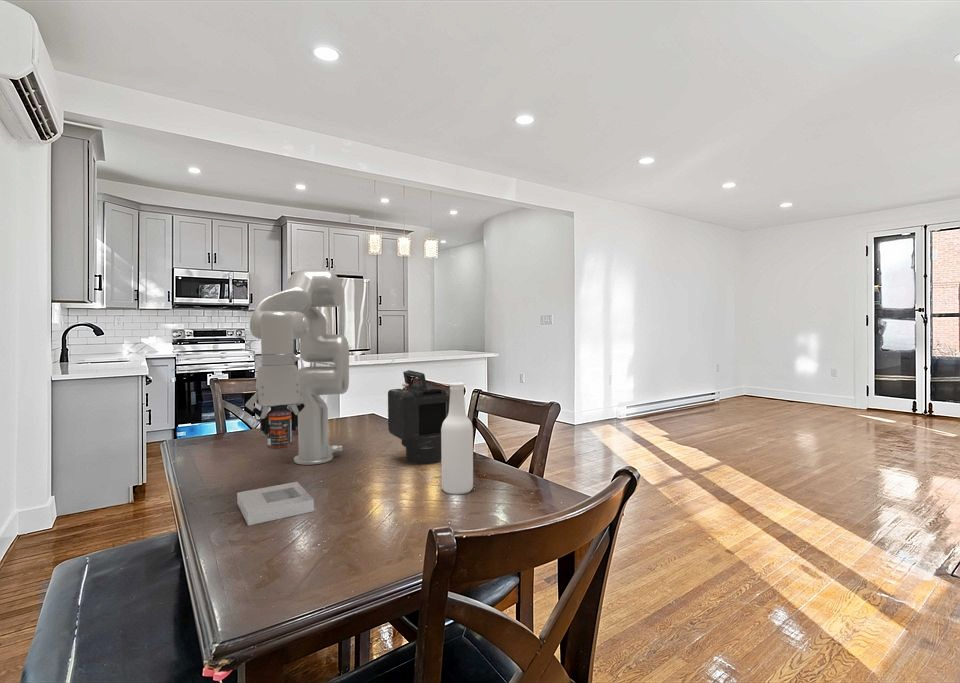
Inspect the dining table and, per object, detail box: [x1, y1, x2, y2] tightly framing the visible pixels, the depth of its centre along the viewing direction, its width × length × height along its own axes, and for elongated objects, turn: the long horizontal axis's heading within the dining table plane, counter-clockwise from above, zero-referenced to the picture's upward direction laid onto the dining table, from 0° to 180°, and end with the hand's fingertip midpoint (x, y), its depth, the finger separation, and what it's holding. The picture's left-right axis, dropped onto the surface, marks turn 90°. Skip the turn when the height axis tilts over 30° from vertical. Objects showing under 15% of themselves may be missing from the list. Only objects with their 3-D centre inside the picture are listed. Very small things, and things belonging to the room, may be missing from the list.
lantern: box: [387, 369, 450, 465], centre depth 166 cm, size 15×18×30 cm
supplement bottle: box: [266, 405, 293, 450], centre depth 125 cm, size 6×6×11 cm
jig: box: [236, 481, 315, 526], centre depth 125 cm, size 15×16×3 cm
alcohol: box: [440, 381, 474, 496], centre depth 137 cm, size 9×9×30 cm
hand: (279, 431), depth 125 cm, fingers closed on supplement bottle, 5 cm apart
